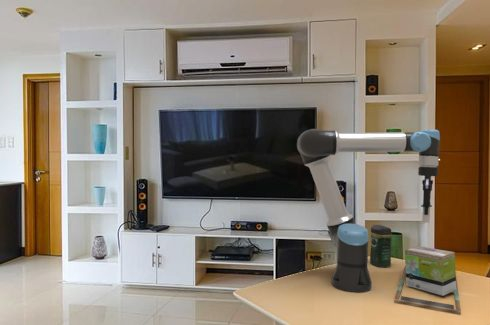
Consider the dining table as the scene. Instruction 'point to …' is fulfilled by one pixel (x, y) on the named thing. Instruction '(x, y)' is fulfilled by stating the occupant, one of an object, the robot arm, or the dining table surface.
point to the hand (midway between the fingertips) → (425, 222)
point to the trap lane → (426, 303)
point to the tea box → (430, 270)
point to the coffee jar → (380, 246)
